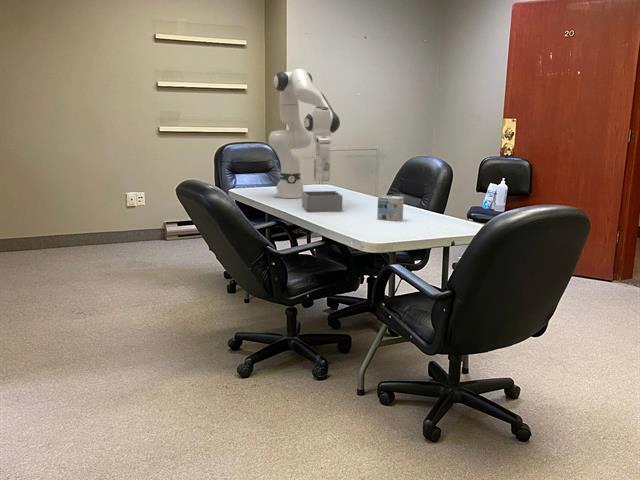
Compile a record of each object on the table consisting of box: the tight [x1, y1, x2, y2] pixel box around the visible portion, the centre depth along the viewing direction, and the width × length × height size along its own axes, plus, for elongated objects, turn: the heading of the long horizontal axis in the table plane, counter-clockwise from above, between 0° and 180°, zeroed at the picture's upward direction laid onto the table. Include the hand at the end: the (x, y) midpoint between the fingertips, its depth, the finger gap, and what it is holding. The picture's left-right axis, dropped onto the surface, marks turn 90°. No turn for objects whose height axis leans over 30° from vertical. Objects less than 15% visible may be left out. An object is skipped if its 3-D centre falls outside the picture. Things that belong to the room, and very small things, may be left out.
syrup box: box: [313, 152, 331, 182], centre depth 302 cm, size 6×6×14 cm
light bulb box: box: [376, 194, 405, 222], centre depth 278 cm, size 11×7×11 cm, turn 62°
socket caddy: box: [301, 190, 343, 213], centre depth 306 cm, size 18×18×8 cm
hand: (321, 166), depth 302 cm, fingers closed on syrup box, 8 cm apart
